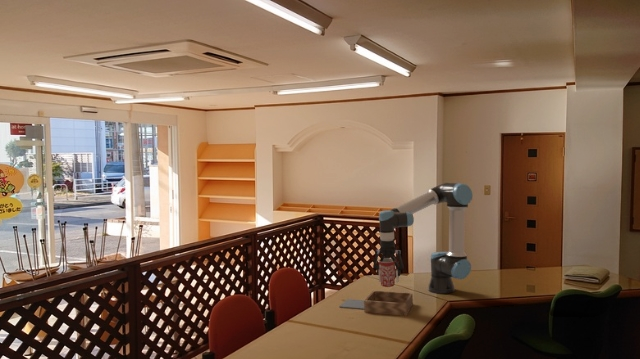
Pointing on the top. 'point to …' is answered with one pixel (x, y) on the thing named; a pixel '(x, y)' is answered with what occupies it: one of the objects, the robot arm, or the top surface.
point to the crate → (388, 302)
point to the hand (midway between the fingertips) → (388, 281)
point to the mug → (387, 272)
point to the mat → (353, 304)
